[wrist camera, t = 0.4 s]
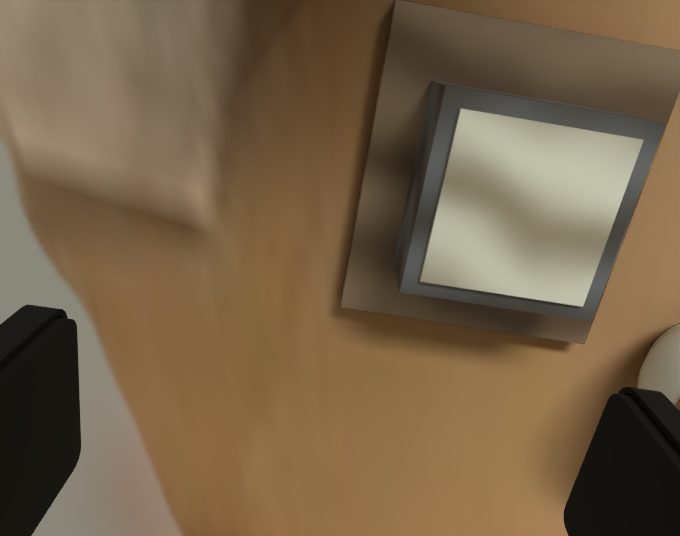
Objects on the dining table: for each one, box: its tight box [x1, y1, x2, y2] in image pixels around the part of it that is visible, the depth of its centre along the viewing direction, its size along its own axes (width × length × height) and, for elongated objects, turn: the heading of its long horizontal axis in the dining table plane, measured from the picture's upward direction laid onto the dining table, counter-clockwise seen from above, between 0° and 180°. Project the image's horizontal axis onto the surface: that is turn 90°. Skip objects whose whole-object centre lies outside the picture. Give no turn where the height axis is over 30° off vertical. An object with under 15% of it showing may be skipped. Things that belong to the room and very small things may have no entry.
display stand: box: [341, 0, 680, 344], centre depth 34 cm, size 20×18×7 cm
